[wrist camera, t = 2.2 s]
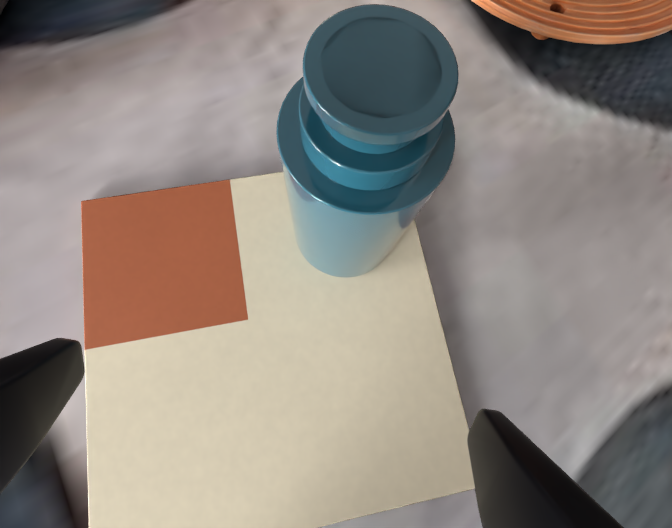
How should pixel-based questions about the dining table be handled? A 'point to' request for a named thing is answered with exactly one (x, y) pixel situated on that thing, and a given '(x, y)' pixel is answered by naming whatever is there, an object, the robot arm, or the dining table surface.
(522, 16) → the ring
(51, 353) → the robot arm
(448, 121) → the bottle with flat stopper
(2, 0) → the grey stone
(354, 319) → the mat
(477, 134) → the dining table surface
